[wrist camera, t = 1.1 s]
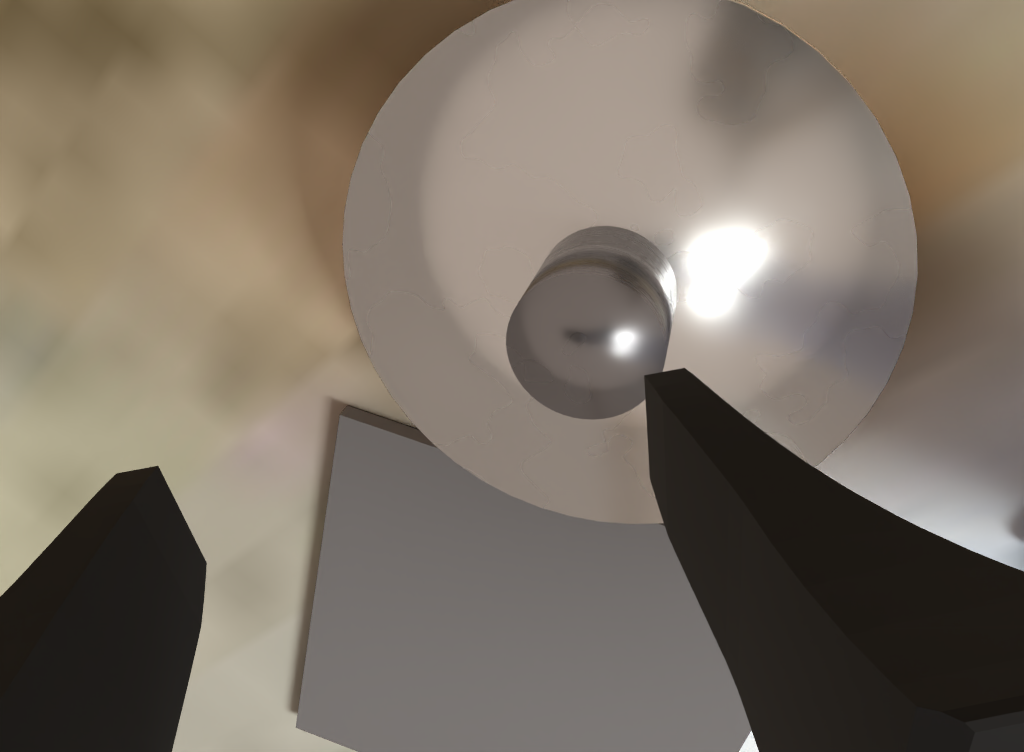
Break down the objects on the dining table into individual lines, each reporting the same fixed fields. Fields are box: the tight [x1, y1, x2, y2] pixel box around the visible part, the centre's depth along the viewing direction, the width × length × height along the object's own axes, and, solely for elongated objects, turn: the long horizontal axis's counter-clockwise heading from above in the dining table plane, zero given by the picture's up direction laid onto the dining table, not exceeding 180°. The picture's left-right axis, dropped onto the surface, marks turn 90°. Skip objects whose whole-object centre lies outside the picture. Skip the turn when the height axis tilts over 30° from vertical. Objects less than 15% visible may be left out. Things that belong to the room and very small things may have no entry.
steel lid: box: [342, 0, 918, 524], centre depth 18 cm, size 13×13×4 cm
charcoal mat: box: [296, 406, 751, 752], centre depth 30 cm, size 16×16×1 cm
